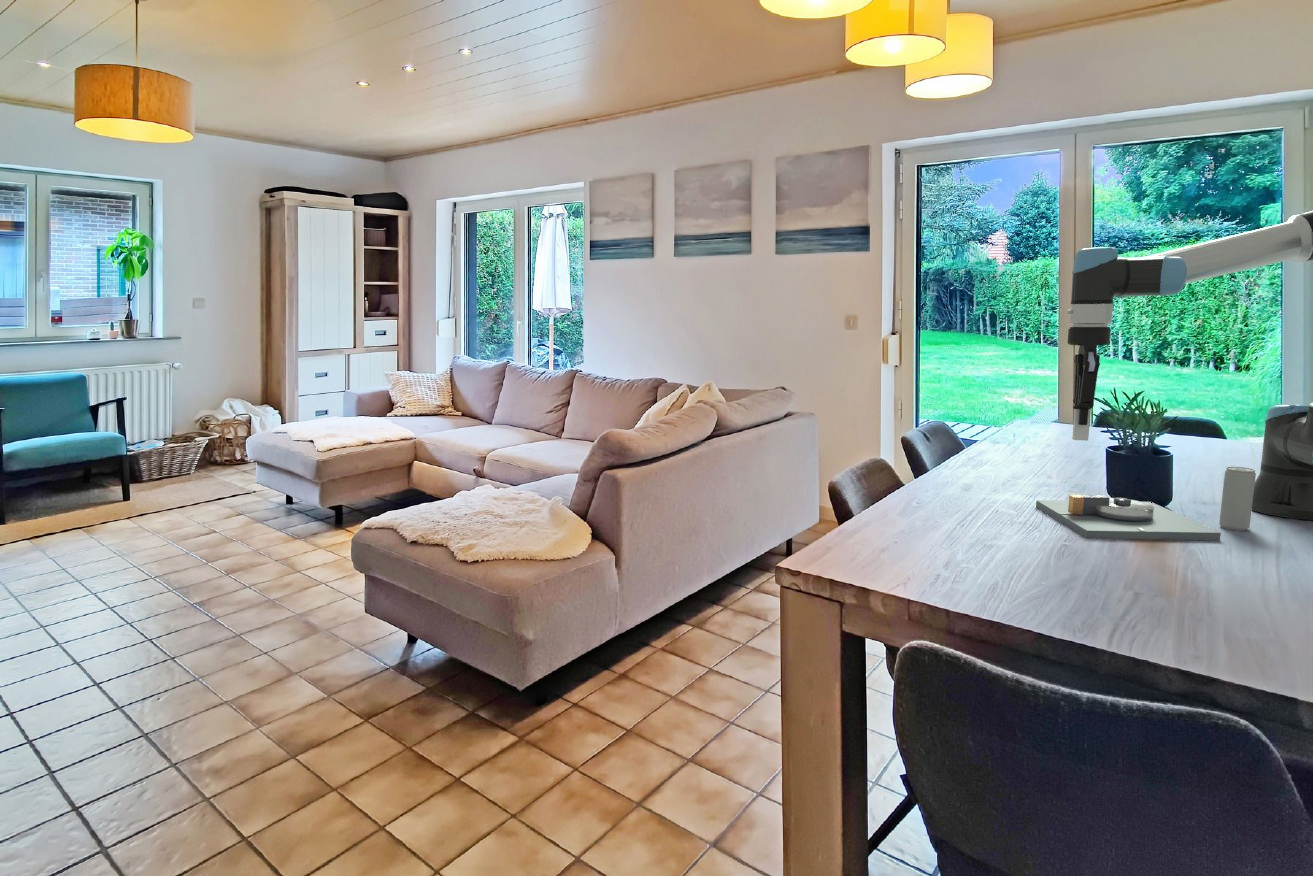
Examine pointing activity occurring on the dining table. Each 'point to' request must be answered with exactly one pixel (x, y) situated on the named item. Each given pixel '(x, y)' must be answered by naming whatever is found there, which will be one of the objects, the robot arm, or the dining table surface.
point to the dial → (1110, 507)
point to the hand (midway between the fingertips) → (1080, 439)
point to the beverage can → (1237, 498)
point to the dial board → (1130, 524)
